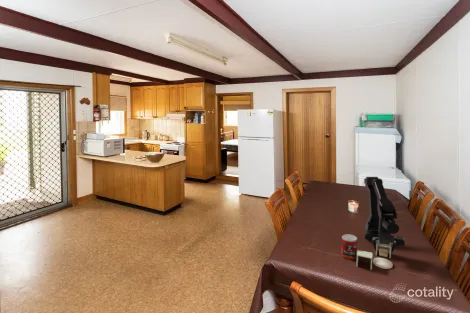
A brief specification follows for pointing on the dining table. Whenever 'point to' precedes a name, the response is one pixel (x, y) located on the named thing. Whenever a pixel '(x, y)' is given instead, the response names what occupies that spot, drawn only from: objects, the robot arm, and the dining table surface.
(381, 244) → the cover
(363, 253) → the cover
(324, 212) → the dining table surface
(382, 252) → the block
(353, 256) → the canned food
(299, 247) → the dining table surface
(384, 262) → the saucer
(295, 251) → the dining table surface
